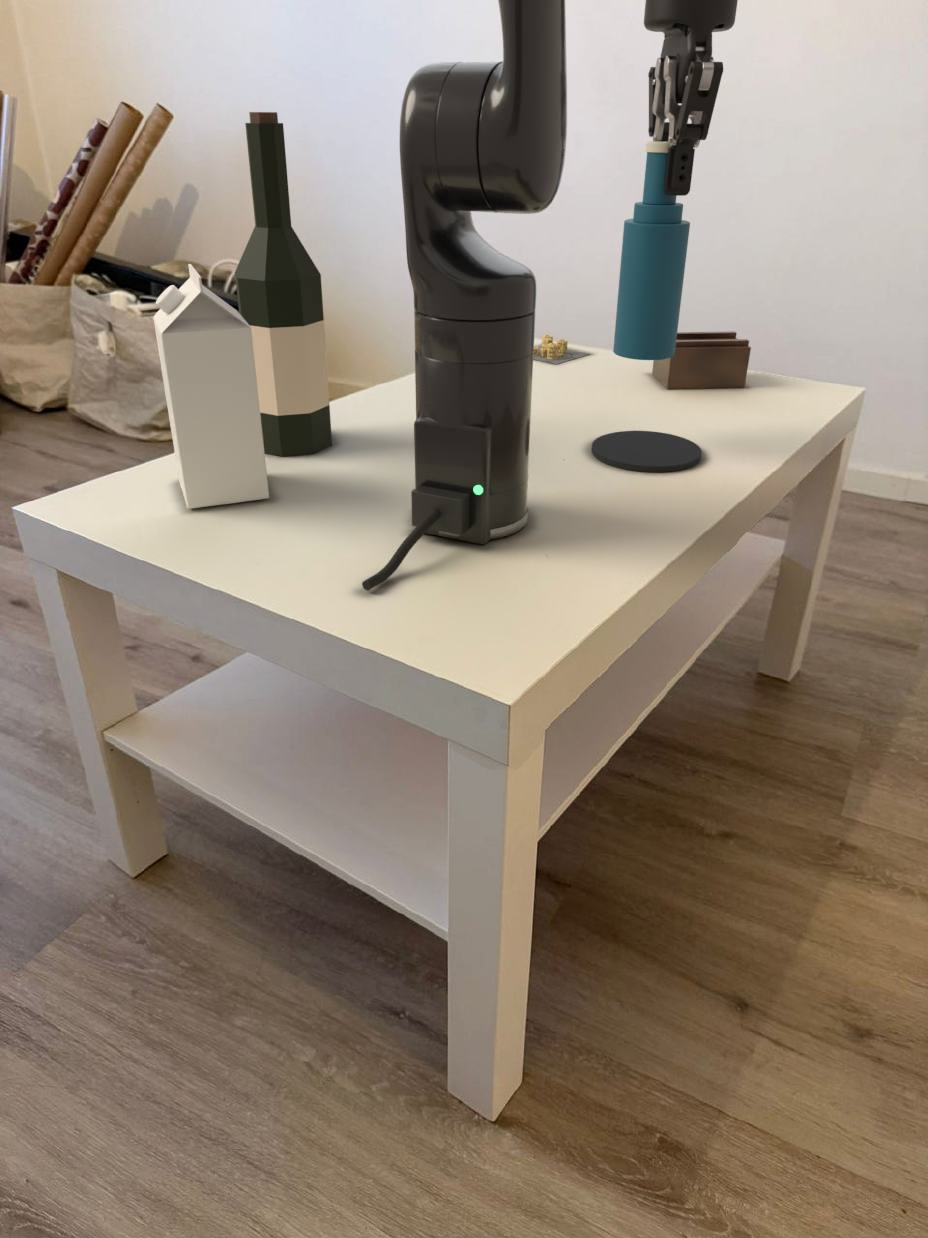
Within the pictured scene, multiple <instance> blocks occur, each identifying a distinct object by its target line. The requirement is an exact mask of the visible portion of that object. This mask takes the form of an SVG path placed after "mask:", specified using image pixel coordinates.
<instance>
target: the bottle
mask: <svg viewBox="0 0 928 1238" xmlns="http://www.w3.org/2000/svg"><path fill="white" fill-rule="evenodd" d="M668 148H673V147H669V143H668V142H663V141H654V142H653V141H646V143H645V153H646V159H645V170H644V181H643V193H642V201H638V202H635V203H634V205H633V206H634V207H633V217H632V218H628V219H625V220H624V222H623V231H622V245H621V256H620V268H619V277H618V291H617V303H616V314H615V326H614V337H613V348H612V349H613V350H612V352H613V354H614V355H616V356H619V357H621V358H624V359H630V360H637V361H654V360H662V359H667V358H671V357H673V356H674V354H675V347H676V339H677V332H678V330H679V329H678V328H679V320H680V313H681V303H682V295H683V288H684V287H683V286H684V280H685V279H684V278H685V270H686V261H687V253H688V245H689V235H690V226H691V222H690V221H688V220H684V219H683V212H684V204H683V203H681V202H677V196H670V195H667V194H665V192H664V182H665V173H666V163H667V154H668Z"/></svg>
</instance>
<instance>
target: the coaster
mask: <svg viewBox="0 0 928 1238" xmlns="http://www.w3.org/2000/svg"><path fill="white" fill-rule="evenodd" d="M590 451H591V454H592V456H593V457H595V458H596V459H597V460H598V461H600V462H602V463H604V464H606V465H609V466H612V467H615V468H618V469H623V470H629V471H634V472H642V473H643V472H644V473H666V472H667V473H669V472H677V471H683V470H686V469H690V468H692V467H694V466H696V465H697V464H699V463H700V461H701V459H702V456H703V455H702V454H703V451H702V448H701V447H700V446H699V445H698V444H696V443H695V442H693V441H691V440H690V439H687V438H686V437H683V436H679V435H675V434H671V433H666V432H662V431H661V432H659V431H650V430H623V431H622V430H621V431H614V432H610V433H606V434H603V435H600V436H598V437H597V438H595V439H594V440H593V441H592V443H591V450H590Z"/></svg>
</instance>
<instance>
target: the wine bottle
mask: <svg viewBox="0 0 928 1238" xmlns="http://www.w3.org/2000/svg"><path fill="white" fill-rule="evenodd" d="M248 113H249V122H244V125H245V133H246V134H245V135H246V145H247V153H248V164H249V176H250V184H251V196H252V205H253V206H252V207H253V216H254V228H253V229H252V232H251V234H250V236H249V239H248V242H247V243H246V246H245V248H244V250H243V252H242V255H241V257H240V260H239V262H238V264H237V266H236V269H235V270H234V277H235V288H236V295H237V305H238V312H239V313H240V315H241V316H242V317H243V318H244V319H245V321H246V322H247V323H248V324H249V325H250V327H251V332H252V341H253V350H254V360H255V369H256V378H257V388H258V397H259V406H260V416H261V425H262V434H263V444H264V453H265V454H267V455H273V456H277V457H294V456H302V455H303V456H304V455H314V454H317V453H319V452H320V451H322V450H324V449H327V448H329V447H330V446H332V445H333V438H332V437H333V436H332V424H331V422H332V421H331V407H330V392H329V378H328V363H327V348H326V347H327V346H326V334H325V333H326V332H325V331H326V330H325V317H324V316H325V315H324V304H323V288H322V287H323V286H322V274H321V273H320V271H319V269H318V267H317V266H316V264H315V262H314V261H313V259H312V258H311V256H310V254H309V252H308V251H307V250H306V248H305V246H304V244H303V243H302V241H301V240H300V238H299V236H298V235H297V233H296V231H295V229H294V228H293V226H292V218H291V205H290V191H289V181H288V179H289V178H288V166H287V155H286V143H285V131H284V130H285V129H284V123H283V122H279V119H278V118H279V117H278V112H277V111H249V112H248Z"/></svg>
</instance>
